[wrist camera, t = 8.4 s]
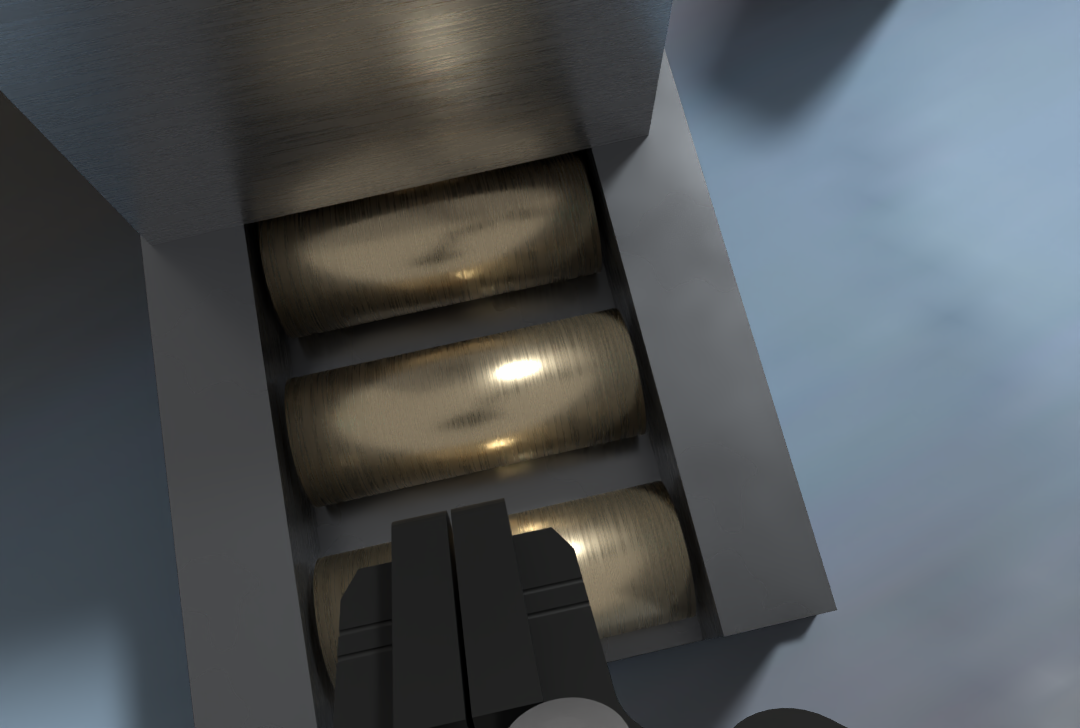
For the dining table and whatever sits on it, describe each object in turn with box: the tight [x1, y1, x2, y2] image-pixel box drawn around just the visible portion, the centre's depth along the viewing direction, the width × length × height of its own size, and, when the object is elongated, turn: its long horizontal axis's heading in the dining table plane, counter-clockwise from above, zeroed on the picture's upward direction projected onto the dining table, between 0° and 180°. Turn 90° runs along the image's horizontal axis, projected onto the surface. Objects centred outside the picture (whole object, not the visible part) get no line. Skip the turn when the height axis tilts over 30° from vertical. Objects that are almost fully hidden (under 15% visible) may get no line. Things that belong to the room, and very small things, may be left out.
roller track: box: [140, 49, 837, 728], centre depth 21 cm, size 22×12×3 cm, turn 13°
